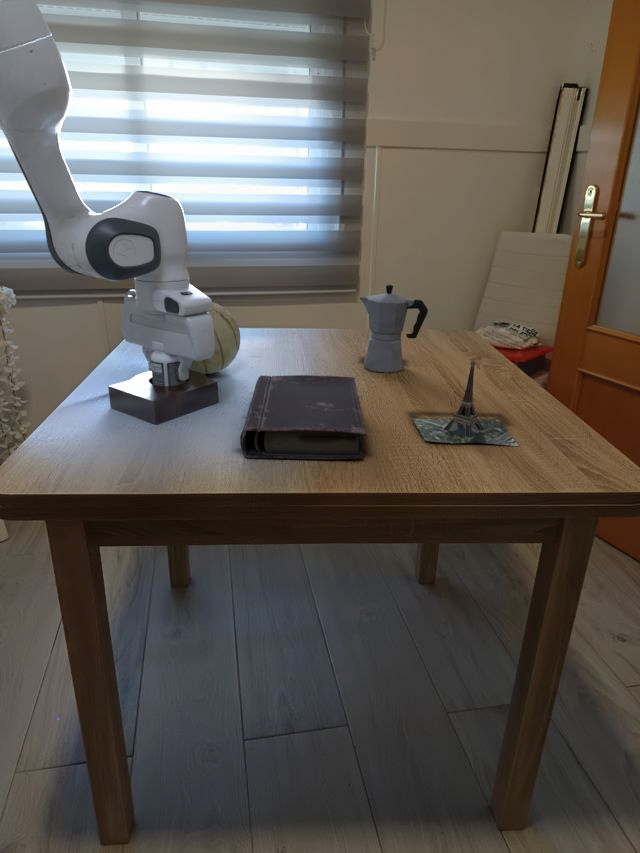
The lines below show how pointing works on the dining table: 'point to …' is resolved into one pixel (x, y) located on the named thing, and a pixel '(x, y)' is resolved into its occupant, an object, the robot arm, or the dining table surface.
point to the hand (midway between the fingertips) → (168, 375)
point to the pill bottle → (164, 367)
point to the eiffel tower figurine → (465, 424)
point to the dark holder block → (162, 397)
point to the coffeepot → (389, 329)
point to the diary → (304, 418)
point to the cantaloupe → (220, 342)
